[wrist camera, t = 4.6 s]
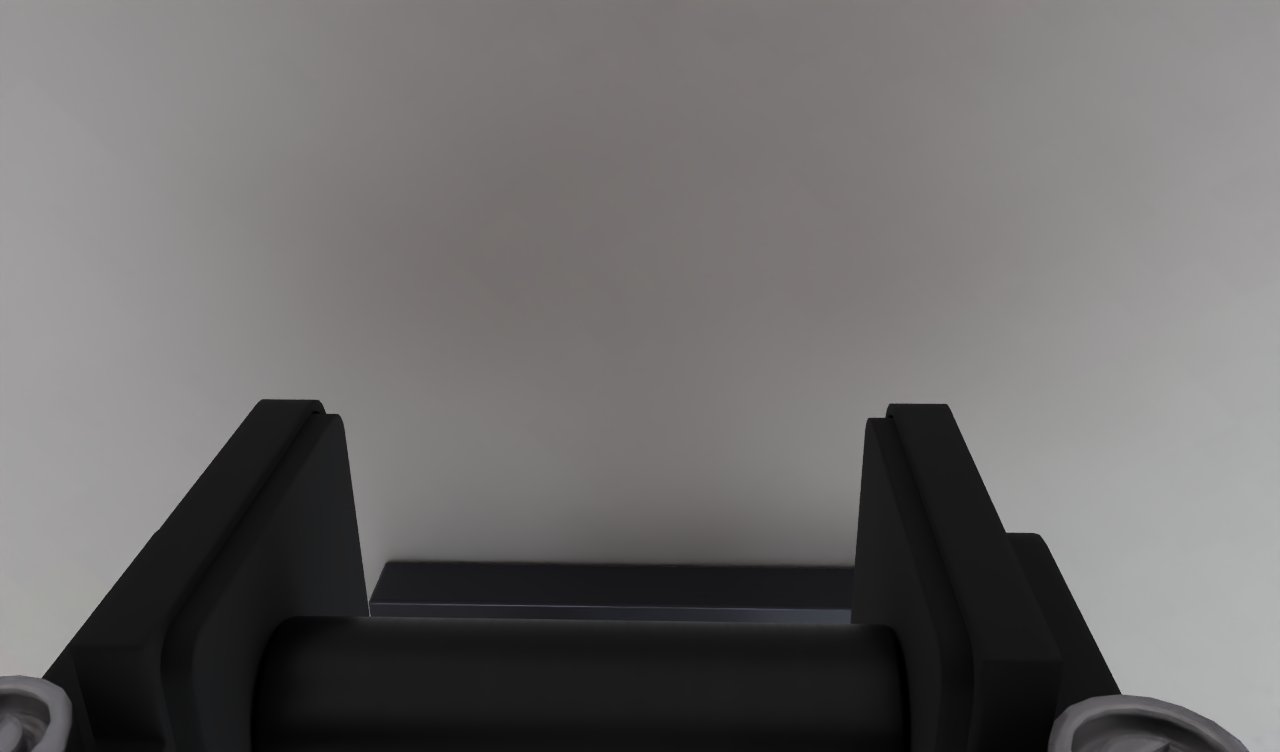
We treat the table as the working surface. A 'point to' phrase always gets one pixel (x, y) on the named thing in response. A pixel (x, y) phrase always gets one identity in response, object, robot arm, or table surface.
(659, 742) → the lever
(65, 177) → the table surface
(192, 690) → the robot arm
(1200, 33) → the table surface
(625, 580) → the bracket
